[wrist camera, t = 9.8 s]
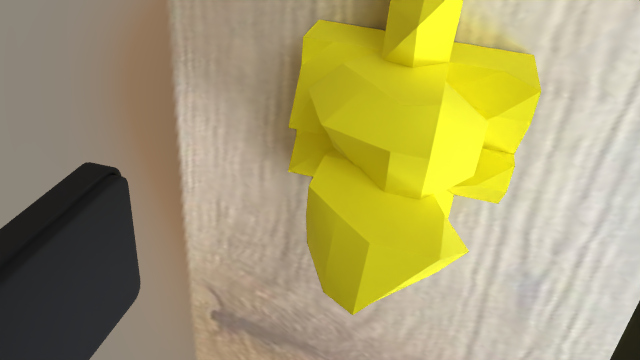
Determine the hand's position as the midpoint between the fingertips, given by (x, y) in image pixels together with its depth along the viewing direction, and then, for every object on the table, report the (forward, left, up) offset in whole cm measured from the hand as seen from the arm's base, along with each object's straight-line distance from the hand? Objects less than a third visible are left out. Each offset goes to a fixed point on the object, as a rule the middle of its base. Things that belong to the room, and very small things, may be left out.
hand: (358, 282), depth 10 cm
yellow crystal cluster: (0, 0, -8) cm, 8 cm away
